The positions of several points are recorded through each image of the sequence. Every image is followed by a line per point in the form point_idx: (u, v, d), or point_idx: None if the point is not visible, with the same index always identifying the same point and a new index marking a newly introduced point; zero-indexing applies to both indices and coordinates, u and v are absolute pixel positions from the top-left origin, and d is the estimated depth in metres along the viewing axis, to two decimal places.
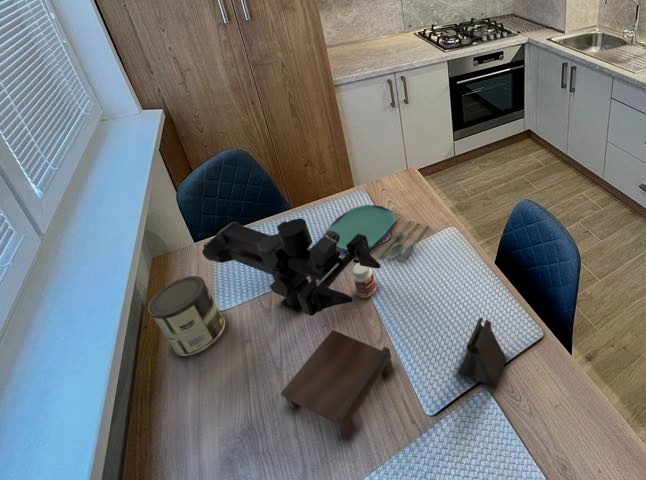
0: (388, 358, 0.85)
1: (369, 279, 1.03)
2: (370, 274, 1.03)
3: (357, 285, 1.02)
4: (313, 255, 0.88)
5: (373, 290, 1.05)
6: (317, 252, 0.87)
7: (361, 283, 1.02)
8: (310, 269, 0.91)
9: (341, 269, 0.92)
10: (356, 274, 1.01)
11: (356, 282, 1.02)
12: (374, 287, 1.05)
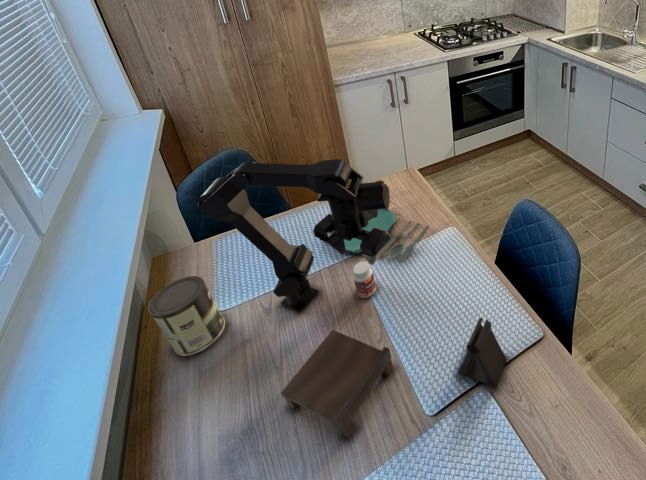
0: (388, 358, 0.85)
1: (369, 279, 1.03)
2: (370, 274, 1.03)
3: (357, 285, 1.02)
4: (375, 210, 1.01)
5: (373, 290, 1.05)
6: (377, 211, 1.03)
7: (361, 283, 1.02)
8: (359, 216, 0.96)
9: None
10: (356, 274, 1.01)
11: (356, 282, 1.02)
12: (374, 287, 1.05)
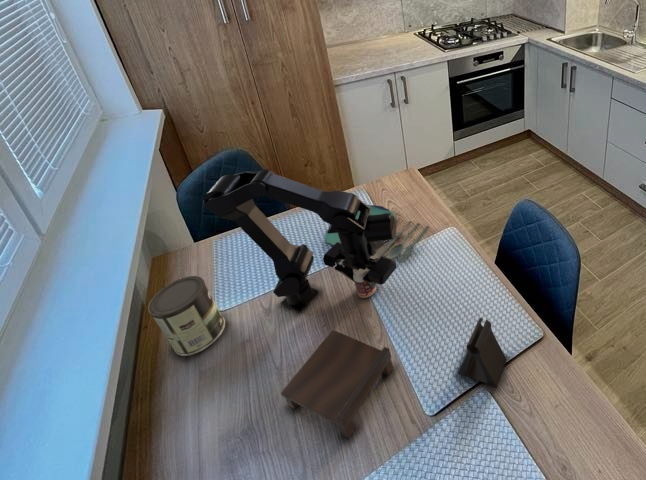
0: (388, 358, 0.85)
1: None
2: None
3: (357, 285, 1.02)
4: None
5: (373, 290, 1.05)
6: None
7: (361, 283, 1.02)
8: (367, 246, 1.00)
9: None
10: (356, 274, 1.01)
11: (356, 282, 1.02)
12: None
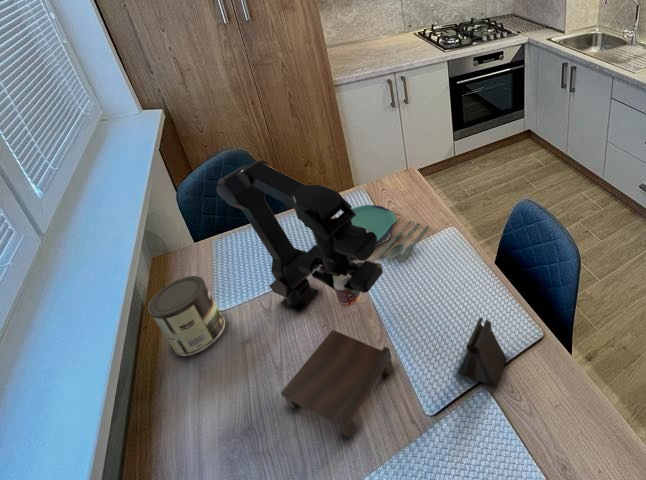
0: (388, 358, 0.85)
1: None
2: None
3: (338, 293, 0.90)
4: None
5: (357, 298, 0.93)
6: None
7: (342, 290, 0.89)
8: None
9: None
10: (337, 281, 0.89)
11: (337, 290, 0.89)
12: None
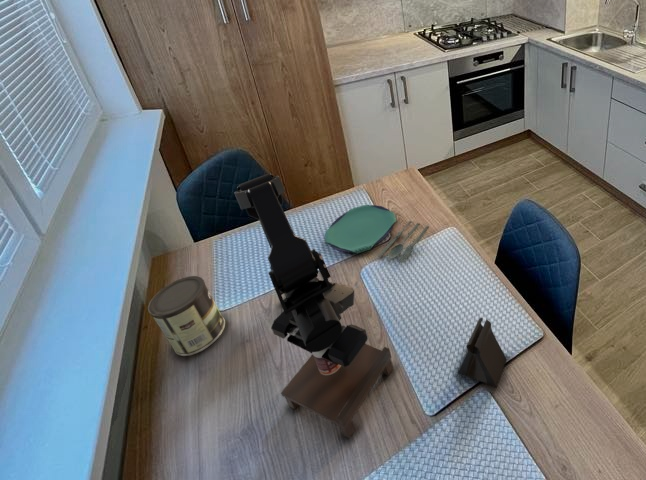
0: (388, 358, 0.85)
1: None
2: None
3: (317, 361, 0.79)
4: (350, 298, 0.81)
5: (339, 365, 0.81)
6: (353, 297, 0.83)
7: (321, 358, 0.78)
8: None
9: None
10: None
11: (315, 357, 0.78)
12: None
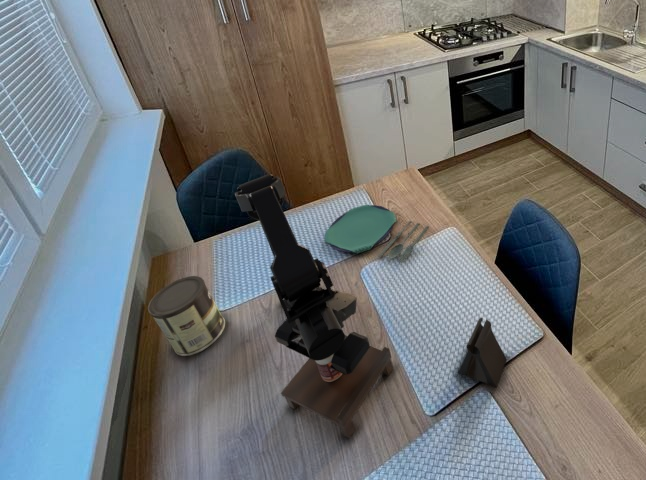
0: (388, 358, 0.85)
1: None
2: None
3: (319, 367, 0.80)
4: (352, 306, 0.82)
5: None
6: None
7: (324, 365, 0.79)
8: None
9: None
10: None
11: (318, 364, 0.79)
12: None
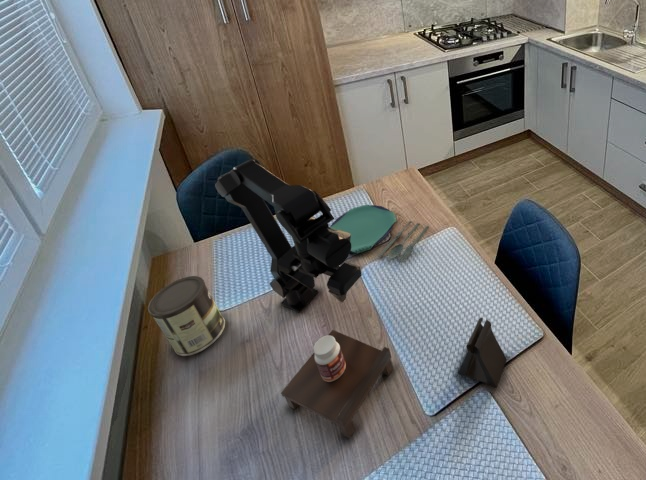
0: (388, 358, 0.85)
1: (335, 359, 0.80)
2: (336, 352, 0.80)
3: (319, 367, 0.80)
4: None
5: (341, 371, 0.82)
6: None
7: (324, 365, 0.79)
8: None
9: None
10: (317, 355, 0.78)
11: (318, 364, 0.79)
12: (342, 367, 0.82)
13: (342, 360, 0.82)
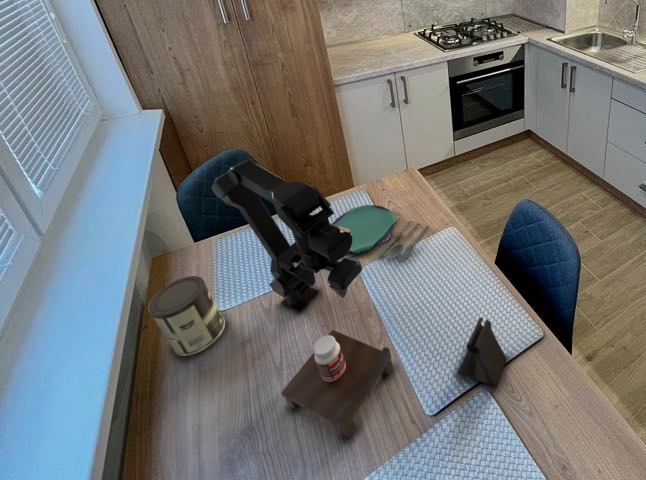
0: (388, 358, 0.85)
1: (335, 359, 0.80)
2: (336, 352, 0.80)
3: (319, 367, 0.80)
4: None
5: (341, 371, 0.82)
6: None
7: (324, 365, 0.79)
8: None
9: None
10: (317, 355, 0.78)
11: (318, 364, 0.79)
12: (342, 367, 0.82)
13: (342, 360, 0.82)
